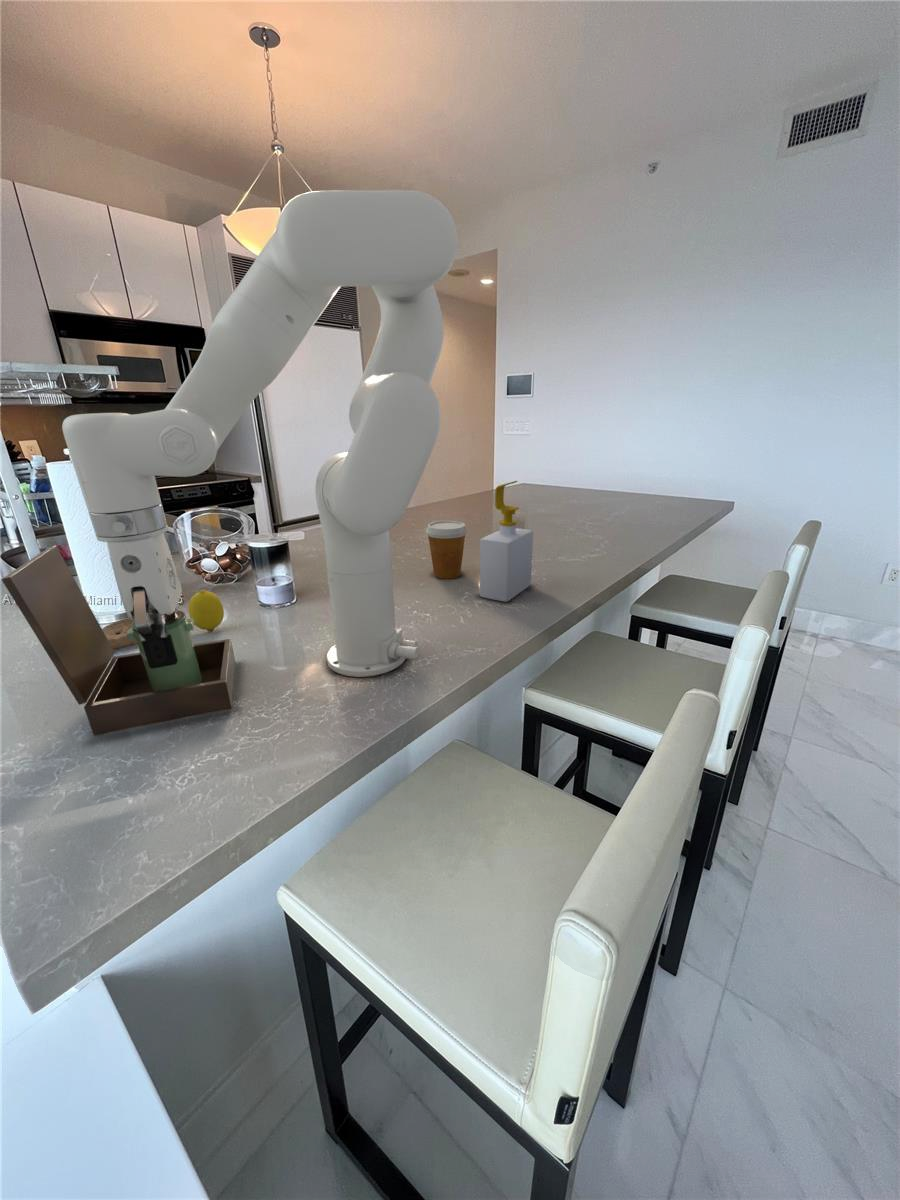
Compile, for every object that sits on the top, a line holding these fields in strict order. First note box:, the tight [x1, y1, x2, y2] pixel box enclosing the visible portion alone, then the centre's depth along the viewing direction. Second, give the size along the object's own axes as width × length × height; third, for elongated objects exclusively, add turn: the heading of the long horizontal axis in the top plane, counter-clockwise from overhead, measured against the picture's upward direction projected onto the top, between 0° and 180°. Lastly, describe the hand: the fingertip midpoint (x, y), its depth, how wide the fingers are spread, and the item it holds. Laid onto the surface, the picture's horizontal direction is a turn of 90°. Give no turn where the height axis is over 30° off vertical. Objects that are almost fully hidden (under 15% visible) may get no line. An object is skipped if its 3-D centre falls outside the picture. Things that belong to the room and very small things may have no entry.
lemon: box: [188, 589, 225, 633], centre depth 87 cm, size 6×6×8 cm
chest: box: [83, 638, 236, 736], centre depth 67 cm, size 16×14×5 cm
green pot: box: [126, 609, 202, 692], centre depth 66 cm, size 8×6×10 cm
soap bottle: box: [479, 480, 534, 603], centre depth 101 cm, size 12×7×23 cm, turn 147°
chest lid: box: [1, 545, 116, 706], centre depth 60 cm, size 16×14×1 cm
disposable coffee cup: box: [425, 520, 468, 579], centre depth 114 cm, size 10×10×12 cm
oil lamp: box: [102, 610, 152, 651], centre depth 84 cm, size 13×8×5 cm, turn 151°
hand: (168, 652), depth 66 cm, fingers closed on green pot, 6 cm apart
